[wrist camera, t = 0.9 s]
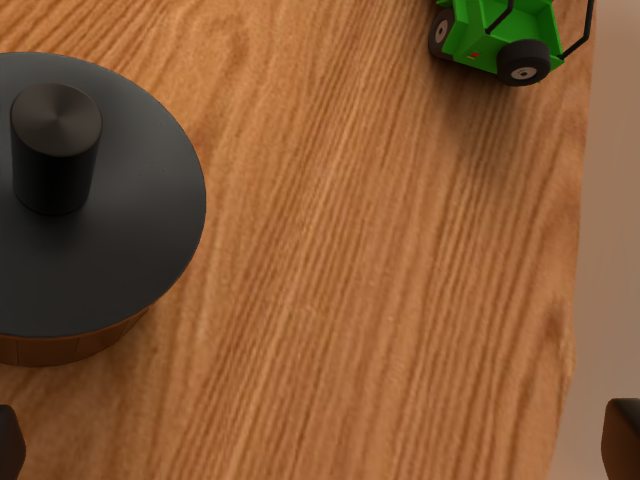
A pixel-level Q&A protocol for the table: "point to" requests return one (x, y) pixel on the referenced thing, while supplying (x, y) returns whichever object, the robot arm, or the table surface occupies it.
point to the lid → (88, 198)
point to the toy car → (502, 37)
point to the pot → (61, 347)
